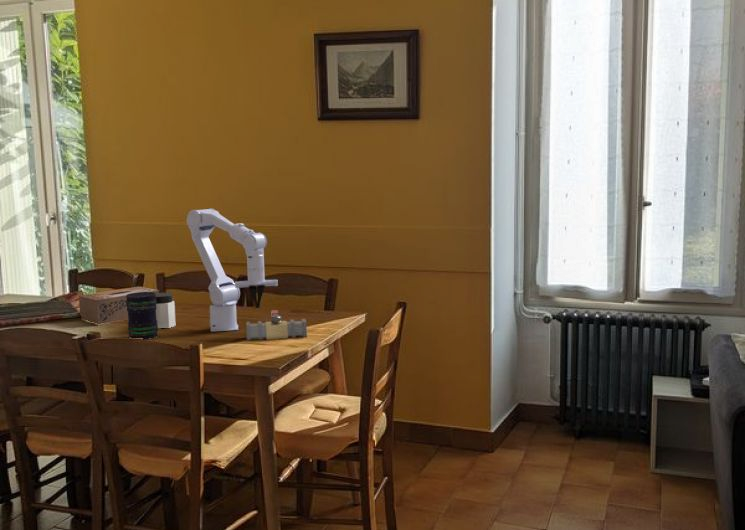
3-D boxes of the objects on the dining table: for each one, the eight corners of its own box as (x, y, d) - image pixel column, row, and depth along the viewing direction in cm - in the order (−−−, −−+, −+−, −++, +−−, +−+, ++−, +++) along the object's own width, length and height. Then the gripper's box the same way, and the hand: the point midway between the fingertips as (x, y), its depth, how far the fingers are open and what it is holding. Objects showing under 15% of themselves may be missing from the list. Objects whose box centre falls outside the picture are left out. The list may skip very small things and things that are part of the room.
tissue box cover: (98, 326, 273) (96, 299, 272) (80, 321, 283) (78, 295, 282) (160, 315, 292) (159, 290, 291) (141, 310, 302) (139, 286, 300)
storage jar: (148, 341, 248) (145, 297, 245) (122, 339, 250) (119, 296, 248) (164, 334, 257) (161, 292, 255) (139, 333, 260) (136, 291, 258)
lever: (281, 322, 248) (281, 317, 248) (271, 323, 248) (270, 318, 248) (279, 314, 261) (279, 309, 261) (269, 315, 261) (269, 310, 260)
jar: (175, 323, 274) (174, 292, 272) (175, 328, 266) (173, 295, 265) (150, 325, 272) (148, 293, 270) (149, 330, 264) (147, 297, 262)
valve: (247, 340, 246) (246, 325, 245) (246, 336, 252) (246, 321, 251) (306, 337, 249) (306, 322, 249) (305, 333, 255) (305, 318, 254)
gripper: (234, 271, 248) (236, 310, 250) (277, 269, 251) (279, 308, 252) (234, 268, 255) (236, 306, 257) (276, 266, 257) (278, 304, 259)
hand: (257, 307), depth 255 cm, fingers closed
